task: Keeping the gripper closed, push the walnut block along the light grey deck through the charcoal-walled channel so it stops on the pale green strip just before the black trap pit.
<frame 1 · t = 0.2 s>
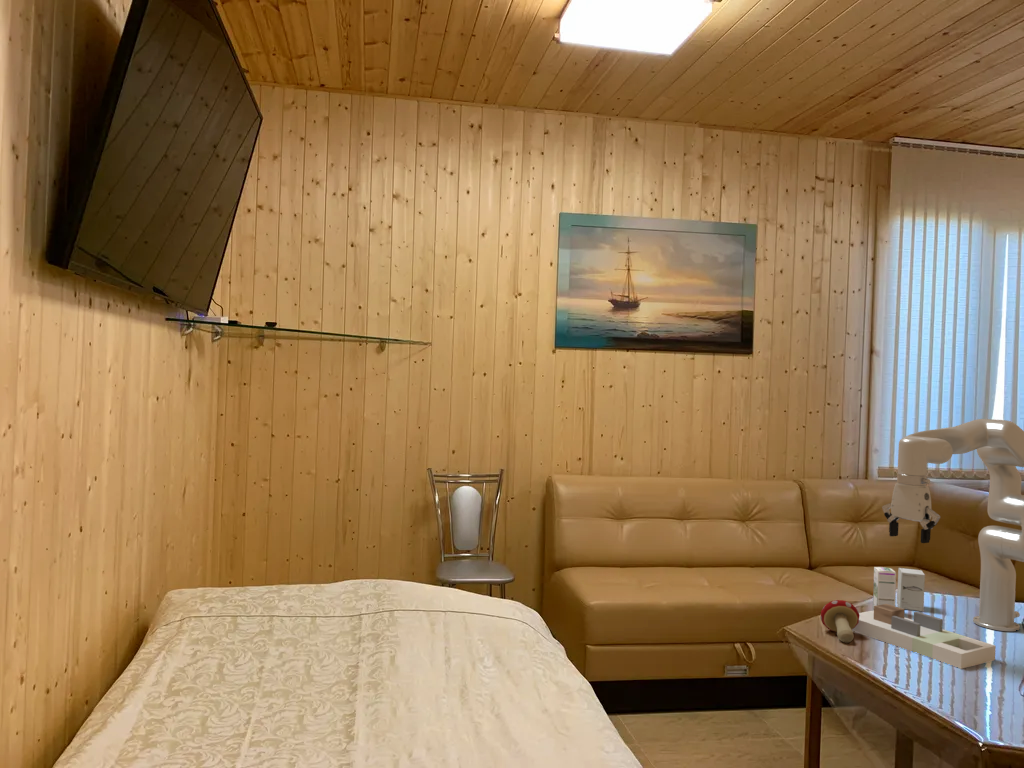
hand: (909, 539, 225), 31 cm above the table, tool pointing down, fingers open, 9 cm apart
decorative mushroom: (838, 636, 231), on the table
supplement box: (909, 608, 263), on the table
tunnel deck: (916, 643, 226), on the table
syrup box: (883, 613, 257), on the table
walnut block: (888, 620, 234), point 4 cm above the table, touching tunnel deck
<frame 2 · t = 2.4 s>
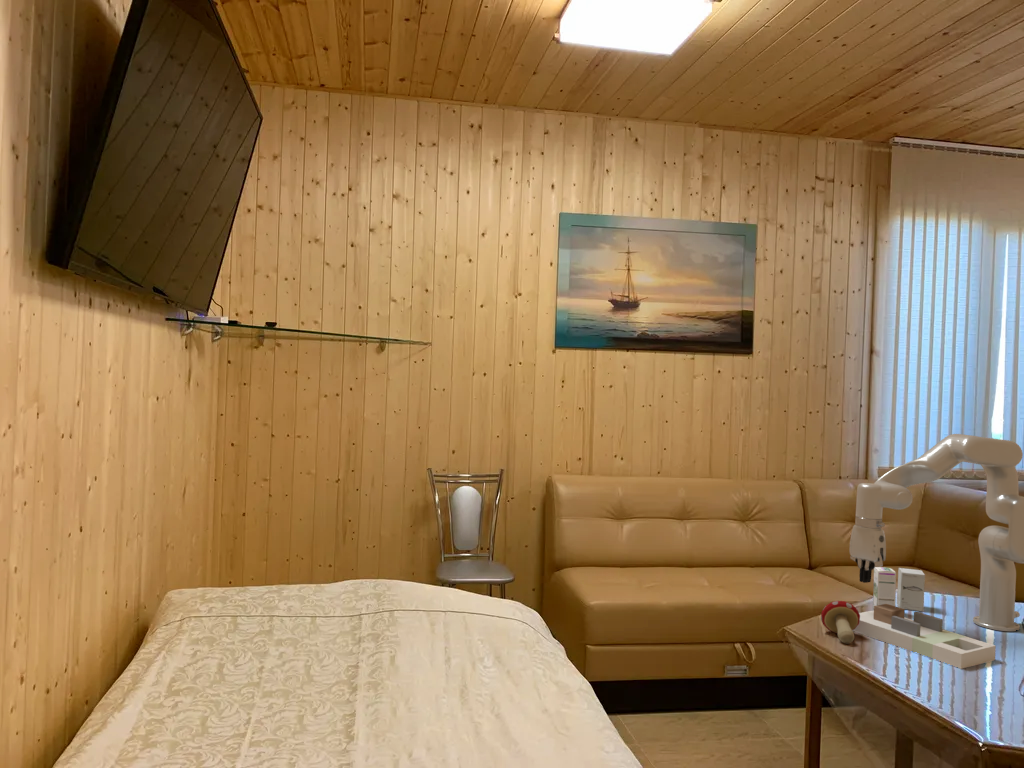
hand: (865, 581, 241), 14 cm above the table, tool pointing down, fingers closed
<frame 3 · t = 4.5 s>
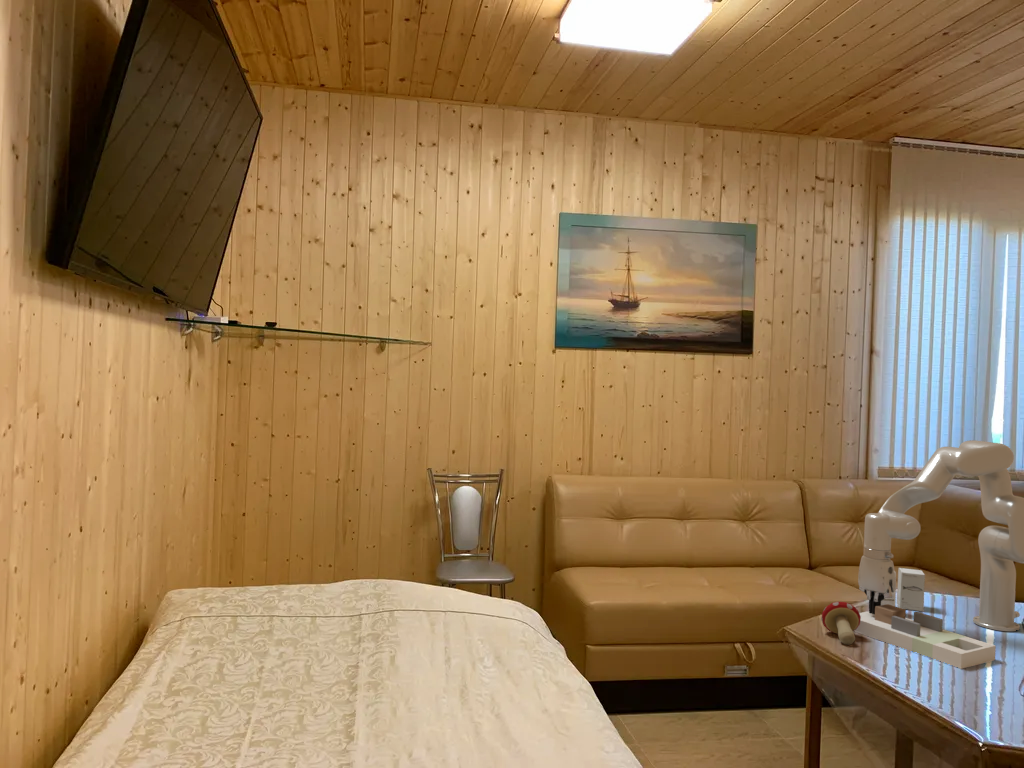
hand: (874, 613, 238), 5 cm above the table, tool pointing down, fingers closed
walnut block: (889, 621, 234), point 4 cm above the table, touching gripper, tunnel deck
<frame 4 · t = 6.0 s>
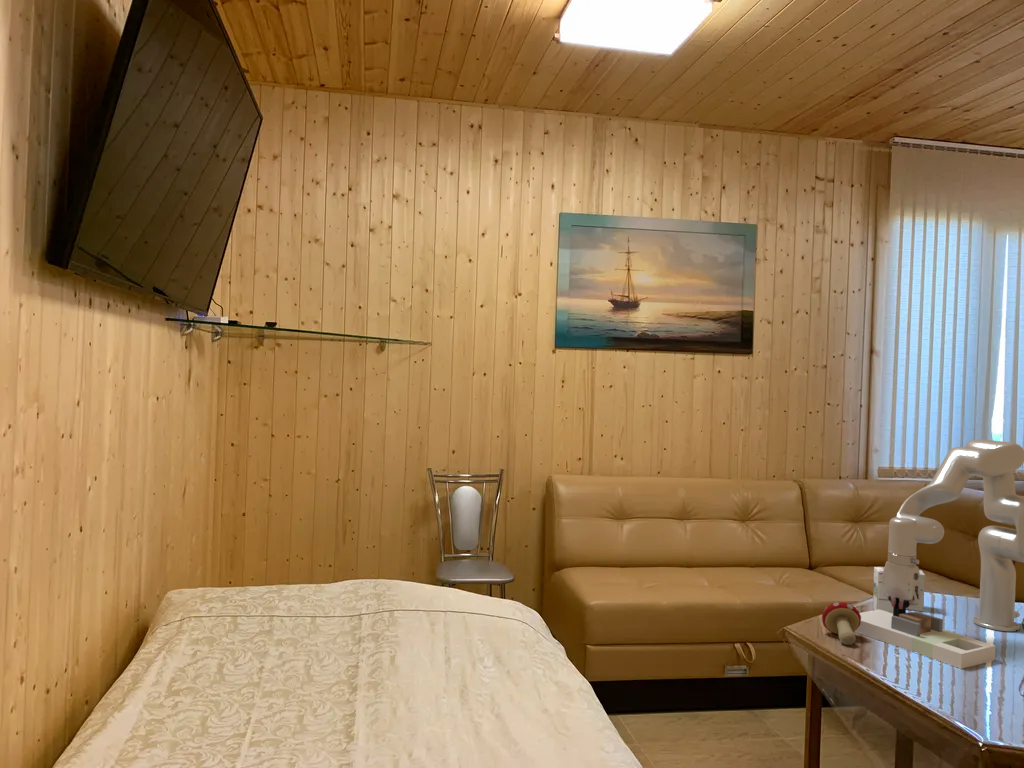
hand: (899, 620, 231), 5 cm above the table, tool pointing down, fingers closed
walnut block: (914, 629, 226), point 4 cm above the table, touching gripper, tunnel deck
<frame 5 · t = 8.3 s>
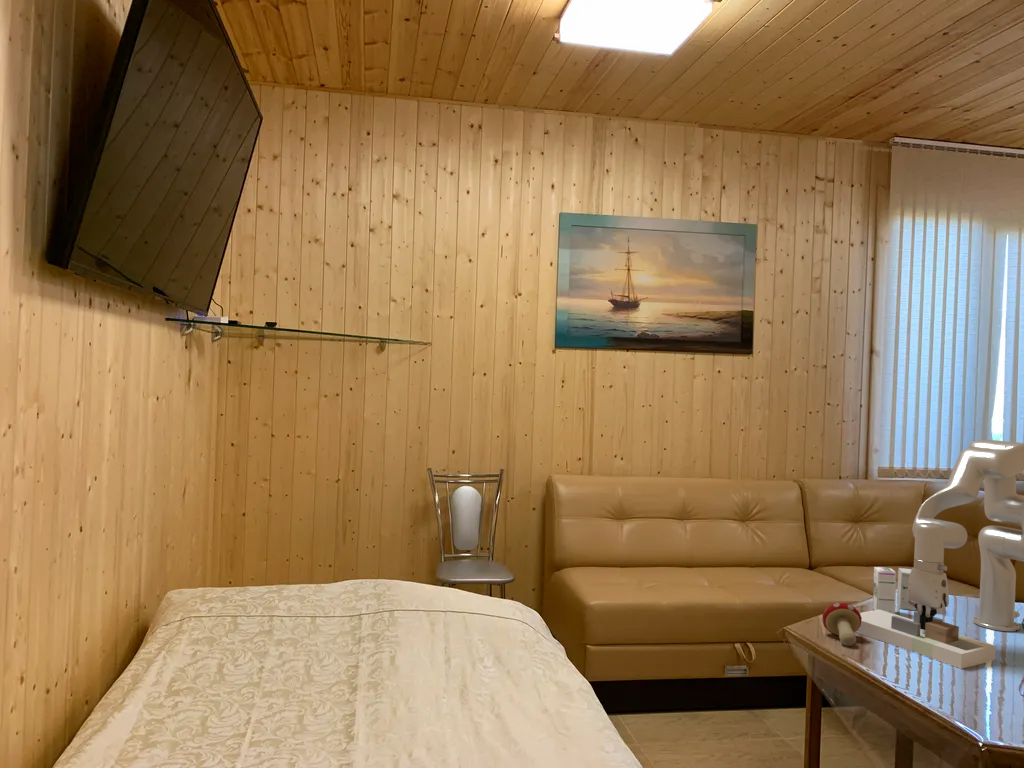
hand: (925, 629, 224), 5 cm above the table, tool pointing down, fingers closed
walnut block: (941, 638, 219), point 4 cm above the table, touching gripper, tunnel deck
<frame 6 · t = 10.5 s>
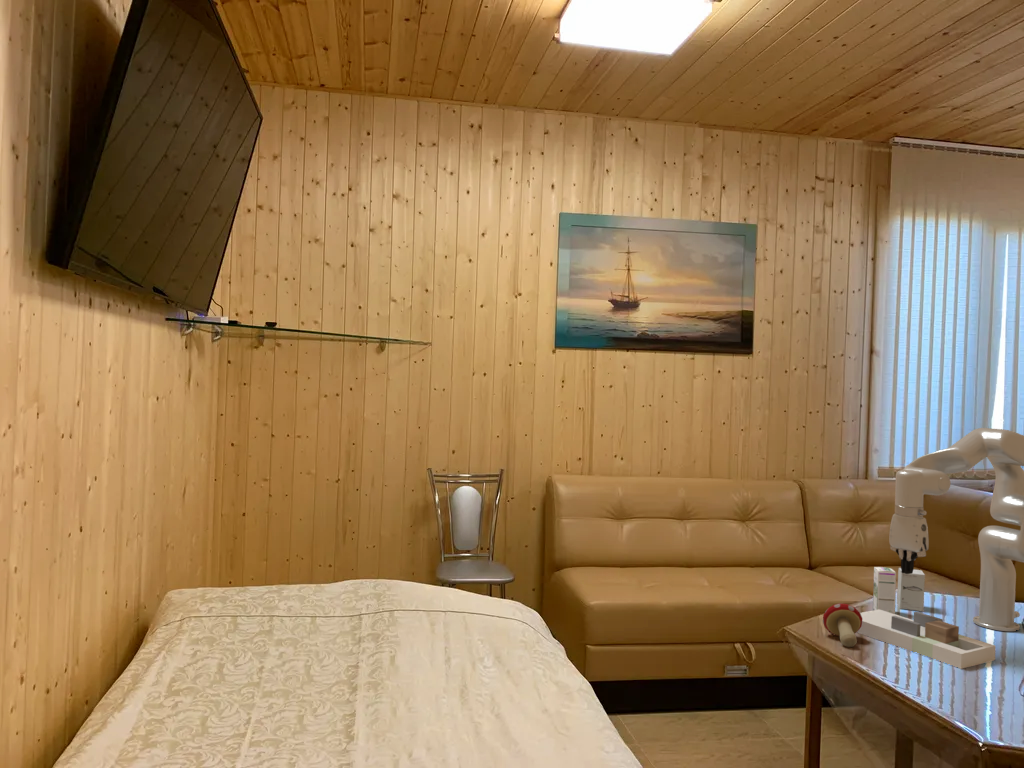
hand: (907, 572, 231), 19 cm above the table, tool pointing down, fingers closed
walnut block: (941, 638, 219), point 4 cm above the table, touching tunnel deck
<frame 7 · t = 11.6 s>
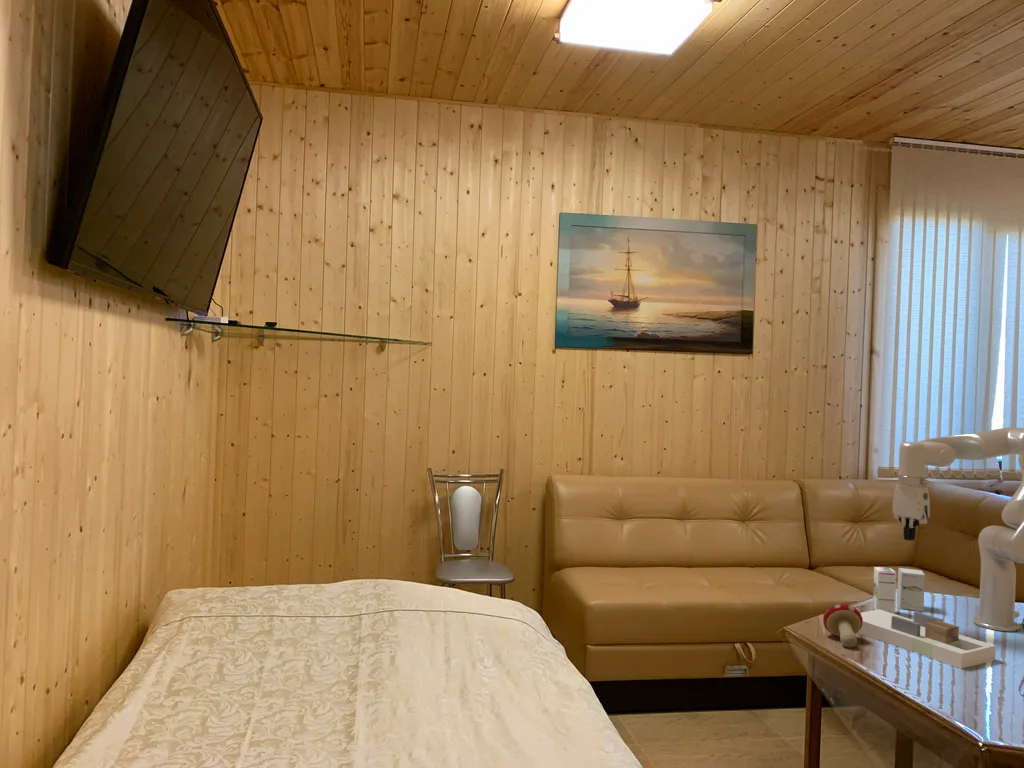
hand: (909, 539, 243), 27 cm above the table, tool pointing down, fingers closed
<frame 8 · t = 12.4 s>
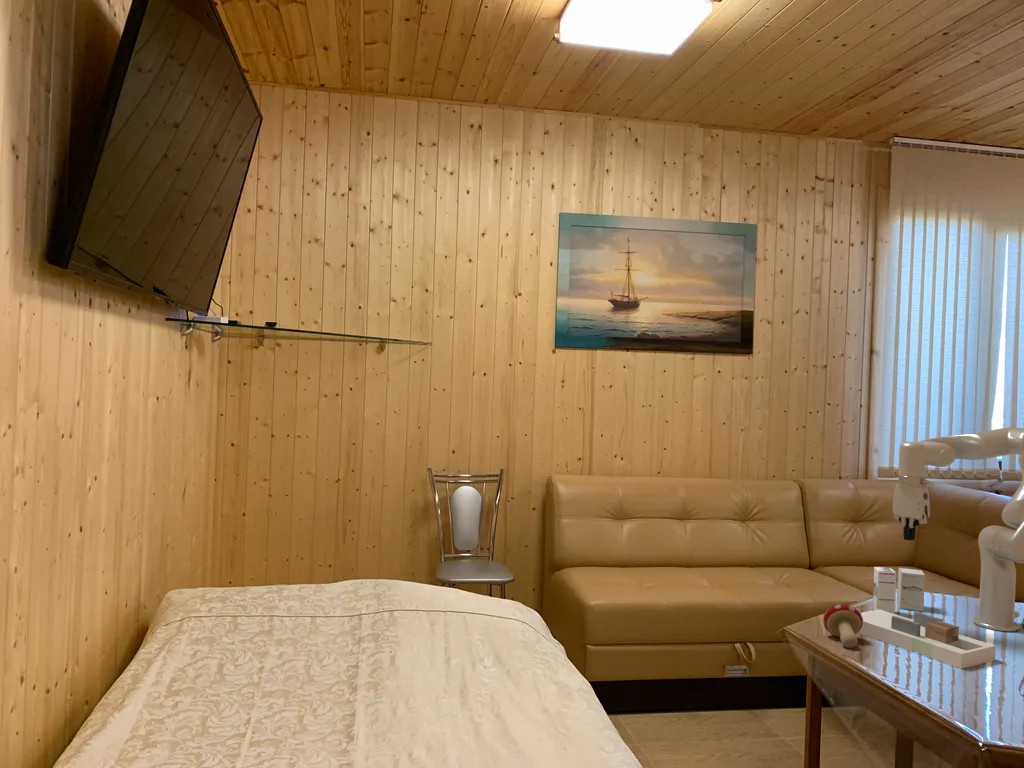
hand: (909, 539, 243), 27 cm above the table, tool pointing down, fingers closed
at the end: walnut block 1.2 cm from the target spot, point 4.0 cm above the table; walnut block tilted 0° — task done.
